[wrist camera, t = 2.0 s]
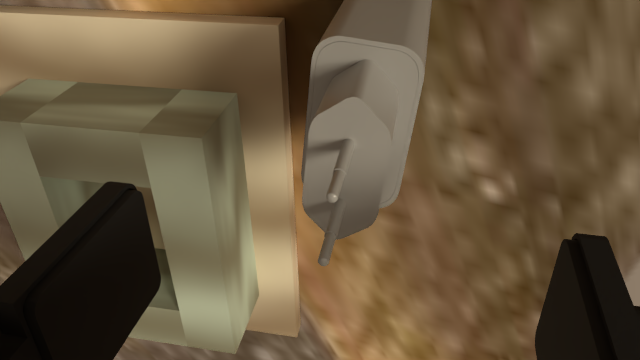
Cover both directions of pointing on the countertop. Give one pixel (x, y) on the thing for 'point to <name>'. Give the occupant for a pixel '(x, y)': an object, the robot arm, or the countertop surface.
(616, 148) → the countertop surface
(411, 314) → the countertop surface
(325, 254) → the power adapter
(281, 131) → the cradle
